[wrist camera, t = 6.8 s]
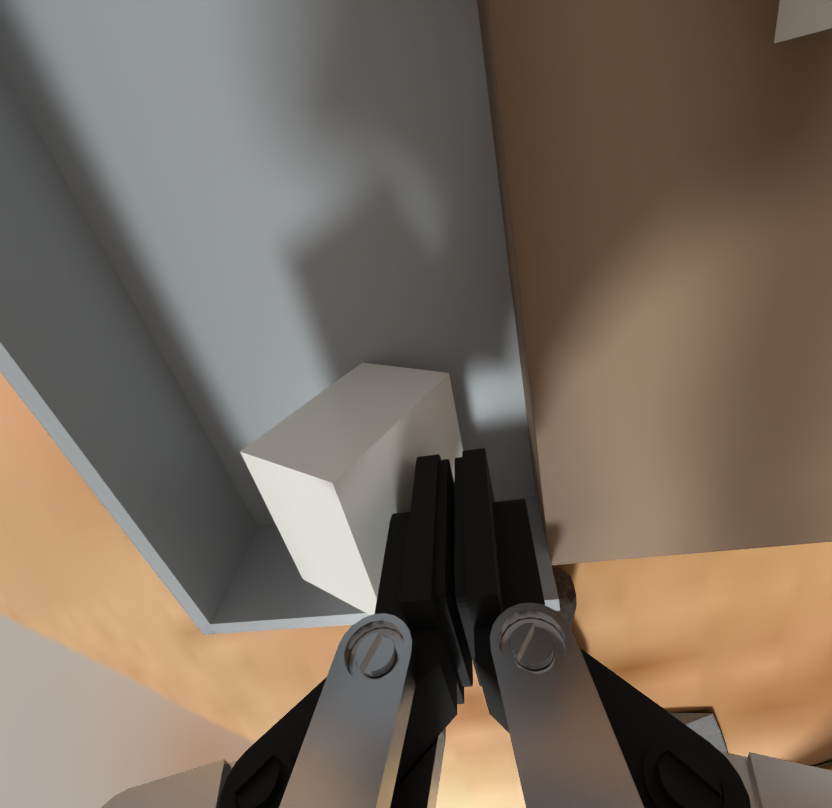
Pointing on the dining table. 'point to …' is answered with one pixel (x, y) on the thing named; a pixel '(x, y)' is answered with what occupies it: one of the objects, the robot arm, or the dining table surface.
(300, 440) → the tile
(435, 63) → the tray
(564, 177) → the board
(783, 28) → the white rectangular block
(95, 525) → the dining table surface
